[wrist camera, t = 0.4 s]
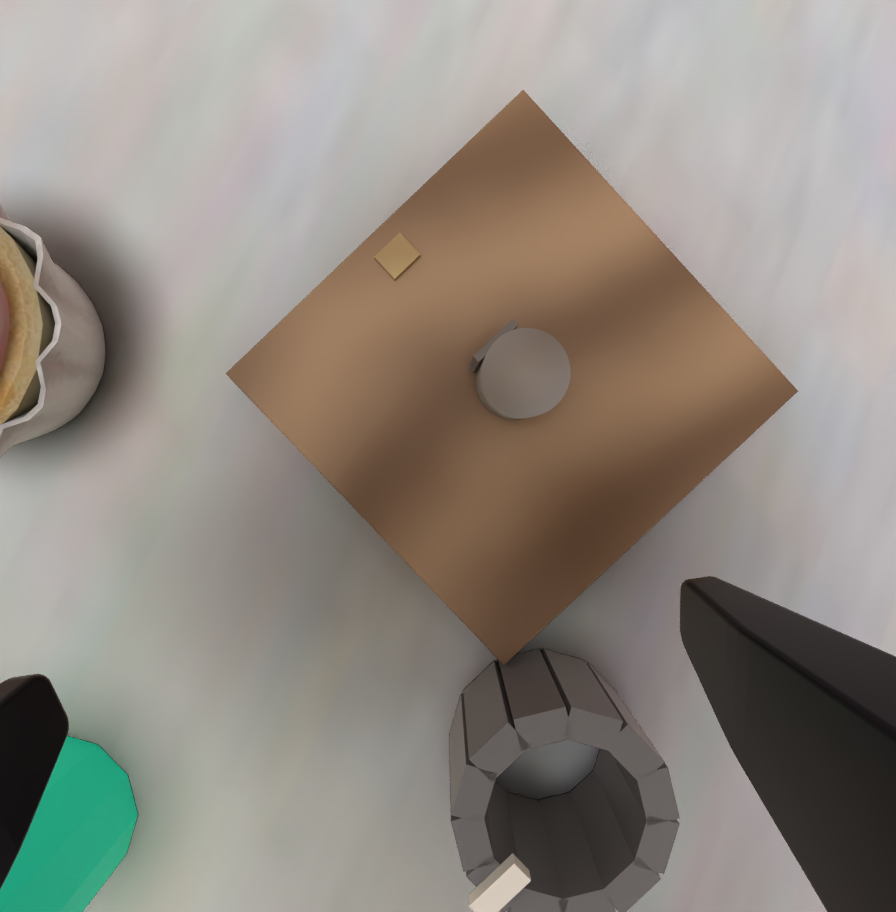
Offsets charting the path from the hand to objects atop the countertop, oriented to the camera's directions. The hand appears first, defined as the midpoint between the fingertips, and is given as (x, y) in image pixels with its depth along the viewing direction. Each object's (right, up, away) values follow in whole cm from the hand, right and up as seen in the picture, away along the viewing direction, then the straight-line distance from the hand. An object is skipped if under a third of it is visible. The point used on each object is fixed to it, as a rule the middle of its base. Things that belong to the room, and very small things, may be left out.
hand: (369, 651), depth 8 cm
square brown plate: (+3, +5, +13) cm, 14 cm away
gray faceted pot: (+5, -8, +13) cm, 16 cm away
